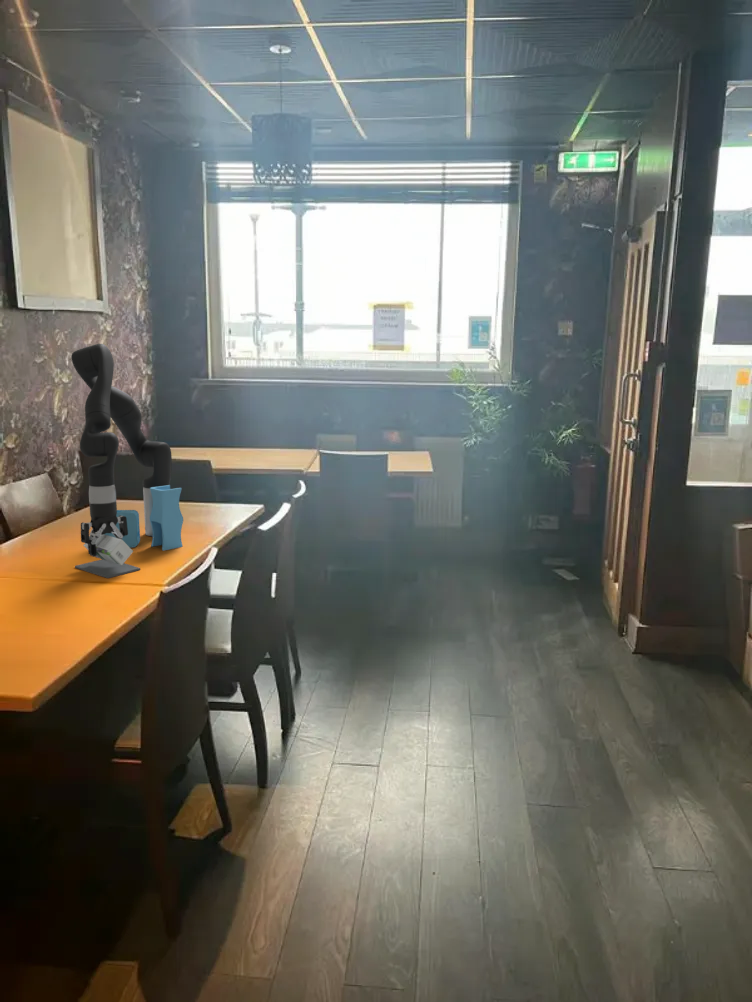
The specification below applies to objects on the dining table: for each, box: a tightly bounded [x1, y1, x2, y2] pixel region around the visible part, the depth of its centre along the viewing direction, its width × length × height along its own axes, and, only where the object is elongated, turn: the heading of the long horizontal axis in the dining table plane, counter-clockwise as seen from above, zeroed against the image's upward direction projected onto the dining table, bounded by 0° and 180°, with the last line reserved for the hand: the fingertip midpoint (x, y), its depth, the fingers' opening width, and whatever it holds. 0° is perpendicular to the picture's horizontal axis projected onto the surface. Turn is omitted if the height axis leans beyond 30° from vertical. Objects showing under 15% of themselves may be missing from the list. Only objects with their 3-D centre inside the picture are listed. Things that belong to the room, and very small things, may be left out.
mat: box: [74, 559, 141, 579], centre depth 221 cm, size 17×11×1 cm, turn 53°
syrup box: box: [83, 532, 134, 565], centre depth 219 cm, size 6×6×14 cm
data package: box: [104, 509, 141, 549], centre depth 246 cm, size 12×4×12 cm, turn 96°
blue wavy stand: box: [150, 484, 184, 551], centre depth 245 cm, size 8×8×20 cm
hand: (105, 553), depth 220 cm, fingers closed on syrup box, 8 cm apart
